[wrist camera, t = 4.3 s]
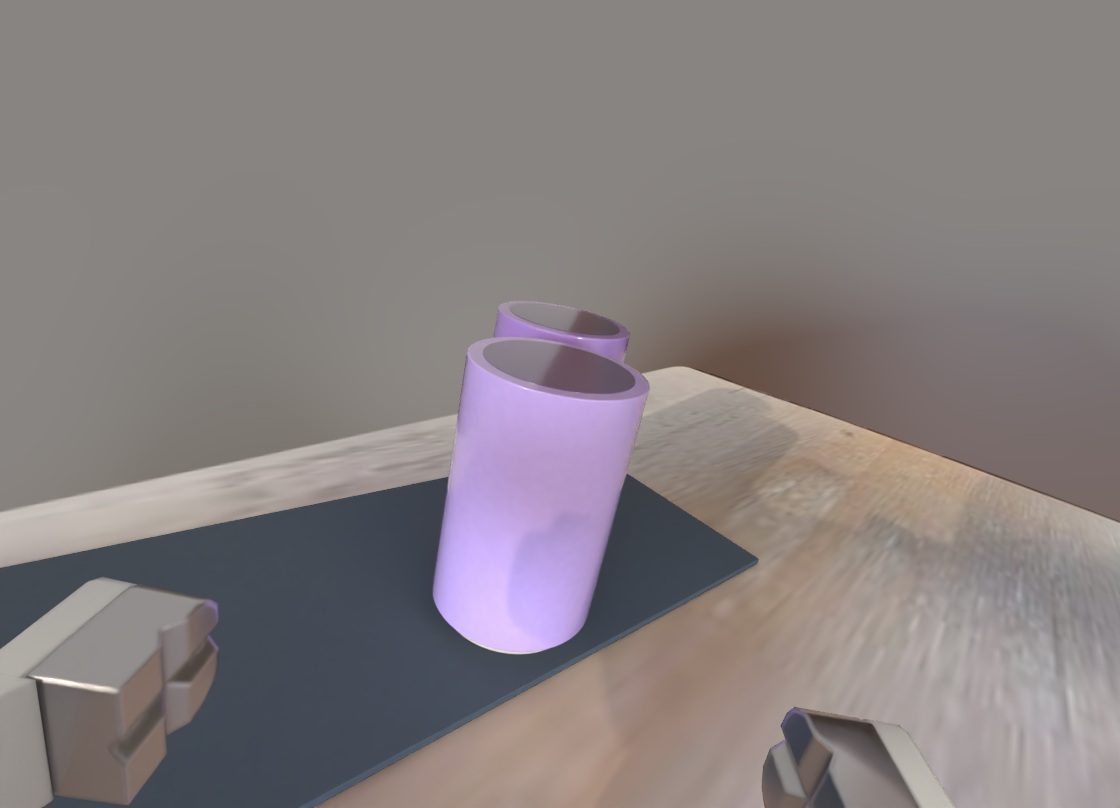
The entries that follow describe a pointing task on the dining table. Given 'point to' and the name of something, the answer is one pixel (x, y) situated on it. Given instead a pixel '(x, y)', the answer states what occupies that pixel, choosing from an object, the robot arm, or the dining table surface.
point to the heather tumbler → (562, 327)
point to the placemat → (352, 635)
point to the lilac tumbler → (533, 489)
